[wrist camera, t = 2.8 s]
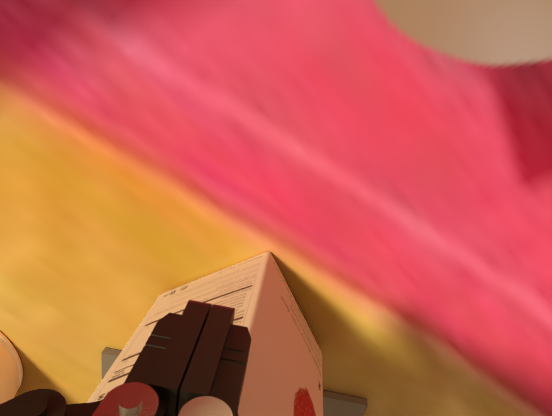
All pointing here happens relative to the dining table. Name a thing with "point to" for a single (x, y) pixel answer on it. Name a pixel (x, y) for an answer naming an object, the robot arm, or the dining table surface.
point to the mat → (336, 407)
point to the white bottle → (9, 370)
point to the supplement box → (264, 333)
